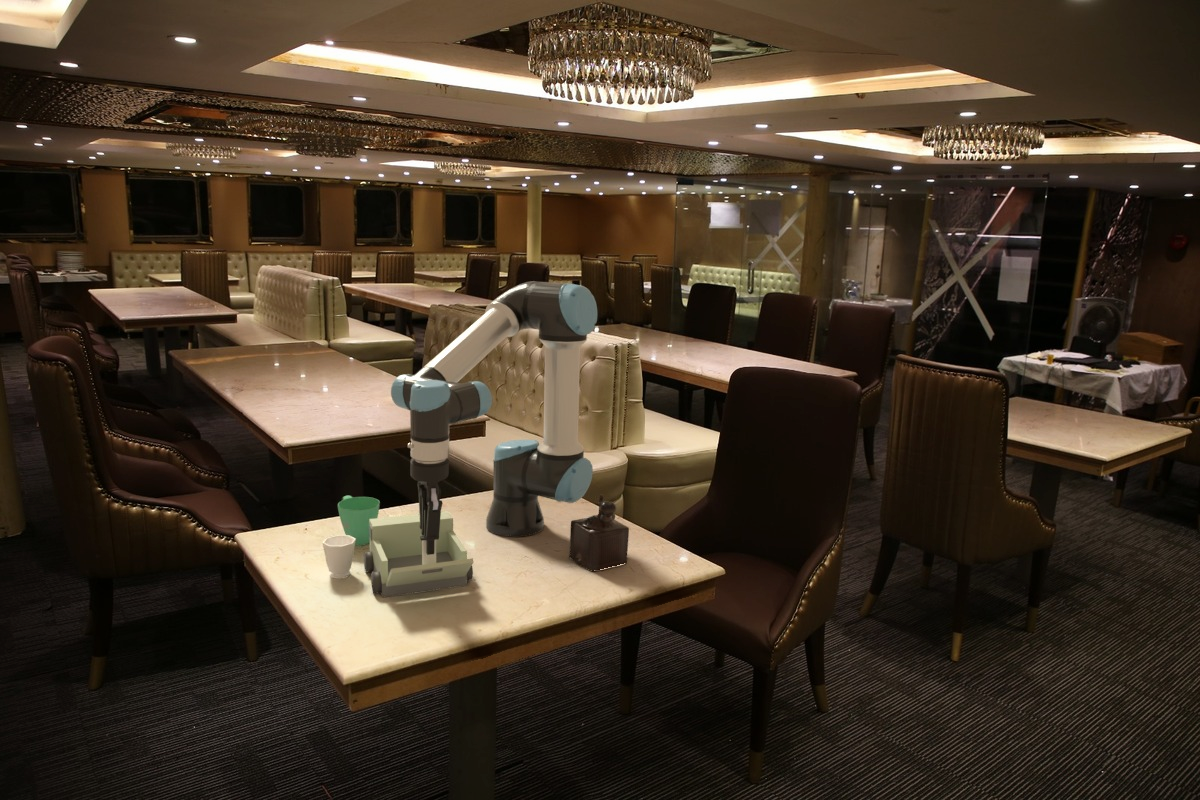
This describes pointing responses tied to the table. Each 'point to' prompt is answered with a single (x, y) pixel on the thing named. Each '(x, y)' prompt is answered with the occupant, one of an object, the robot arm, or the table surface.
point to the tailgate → (428, 572)
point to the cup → (339, 554)
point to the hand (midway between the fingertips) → (429, 566)
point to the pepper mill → (599, 539)
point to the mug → (358, 516)
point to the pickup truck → (410, 553)
